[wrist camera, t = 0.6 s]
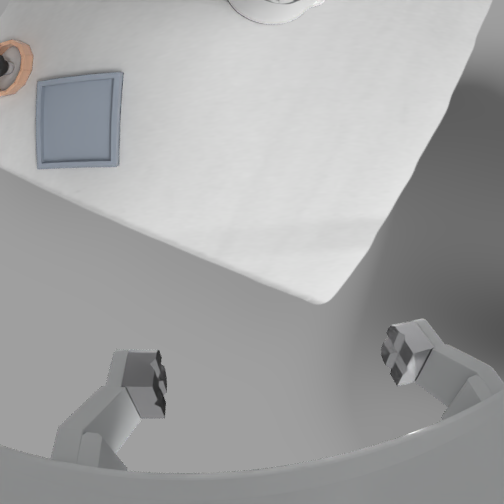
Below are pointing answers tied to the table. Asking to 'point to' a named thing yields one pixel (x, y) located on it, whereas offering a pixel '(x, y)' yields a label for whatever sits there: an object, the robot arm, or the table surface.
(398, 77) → the table surface
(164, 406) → the robot arm
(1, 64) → the light bulb
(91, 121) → the tray
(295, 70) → the table surface
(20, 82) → the ring
